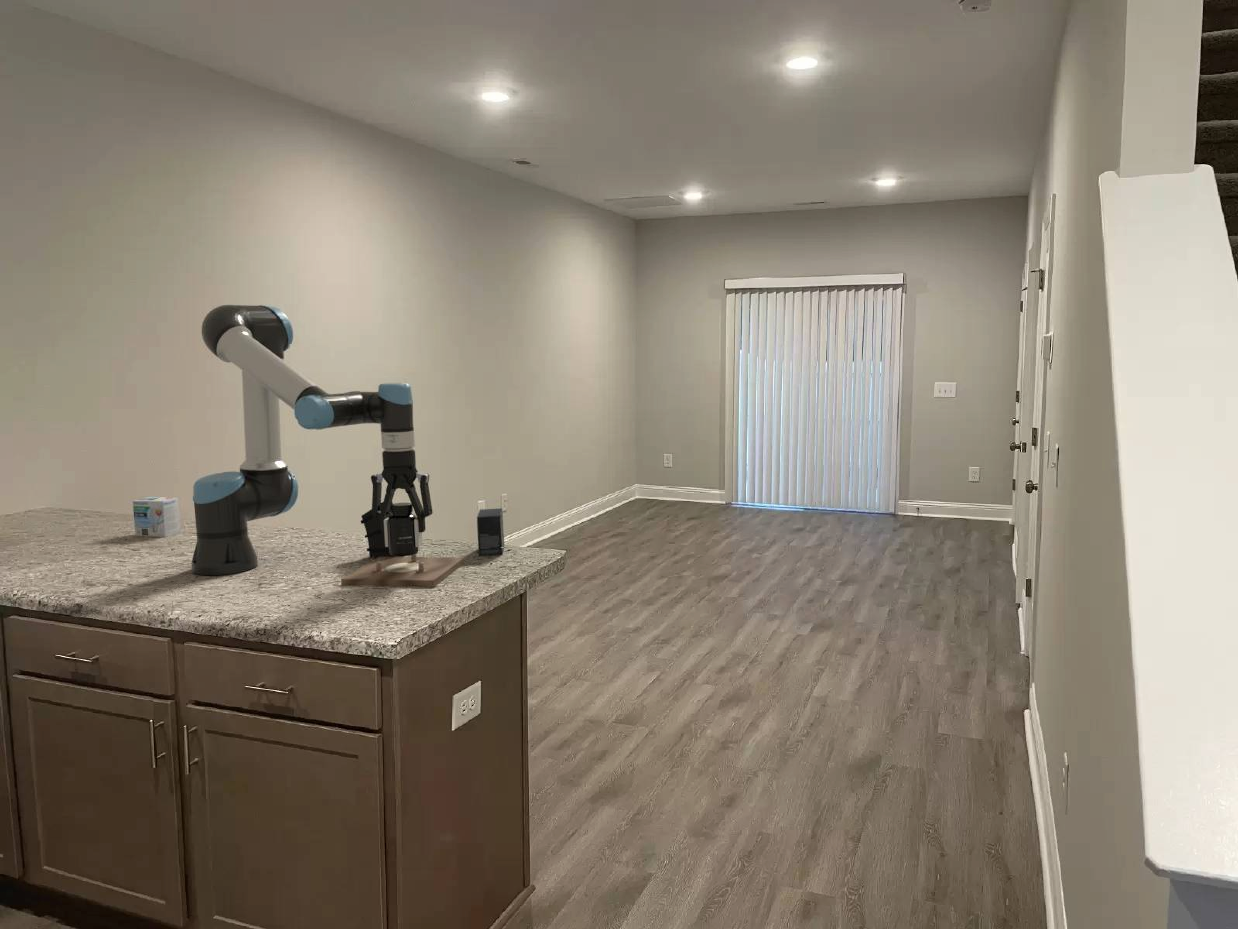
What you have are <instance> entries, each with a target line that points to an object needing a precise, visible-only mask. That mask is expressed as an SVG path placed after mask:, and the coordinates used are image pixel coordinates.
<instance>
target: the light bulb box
mask: <svg viewBox="0 0 1238 929" xmlns="http://www.w3.org/2000/svg"><path fill="white" fill-rule="evenodd" d="M132 508H133V510H132V511H133V518H134V519H133V520H134V521H133V522H134V532H135V536H136V537H153V538H154V537H157V538H166V537H170V536H173V535H178V534H180V533H181V524H180V522H181V521H180V512H179V511H180V510H179V498H178V497H169V496H168V497H165V496H164V497H161V496H160V497H159V496H146V497H143V498H138V499H134V500H132Z"/></svg>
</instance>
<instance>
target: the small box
mask: <svg viewBox="0 0 1238 929" xmlns="http://www.w3.org/2000/svg"><path fill="white" fill-rule="evenodd" d="M503 515H504V513H503V508H502V507H501V508H487V509H486V508H485V509H479V511H478V514H477V516H476V528H477V529H476V530H477V545H478V547H477V548H478V556H479V557H484V556H486V557H487V556H489V557H490V556H503V554H504V552H505V551H504V550H505V535H504V516H503ZM501 547H504V548H501Z"/></svg>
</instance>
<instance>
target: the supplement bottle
mask: <svg viewBox="0 0 1238 929" xmlns="http://www.w3.org/2000/svg"><path fill="white" fill-rule="evenodd" d="M413 512H414V509H413V506H412V504H411V502H397V503H396V502H395V503H393V504H392V513H393V515H391V516H390V517H389V519H388V536H389V553H390V555H392V556H403V557H411V555H415V554H416V555H418V553H419V547H416V546H415V528H414V520H415V519H416V518H417V516H416V514H415V513H413Z"/></svg>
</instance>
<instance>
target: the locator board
mask: <svg viewBox="0 0 1238 929" xmlns="http://www.w3.org/2000/svg"><path fill="white" fill-rule="evenodd" d="M464 564H465V558H464V557H449V556H448V557H446V556H445V557H441V556H440V557H439V556H438V557H434V556H417V554H415V555H411V556H403V557H378V558H374V559H373V560H371V561H370V562H368V563H366V564H365V565H363V566H361V567H359V568H357V569H355V570H354V571H352V572H351V573H348V574H347V575H345V576H344V577H342V578H341V579H340V581H341V584H340V585H341V586H351V587H353V586H355V587H356V586H357V587H360V586H362V587H413V588H415V587H416V588H417V587H418V588H419V587H420V588H421V587H422V588H435V587H436V586H437V585H439V584H441V582H443V581H444V580H445V579H446V578H447V577H449V576H450V575H452V574H453V573H454V572H455V571H456V570H458V569H460V567H462V566H463V565H464Z"/></svg>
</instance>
